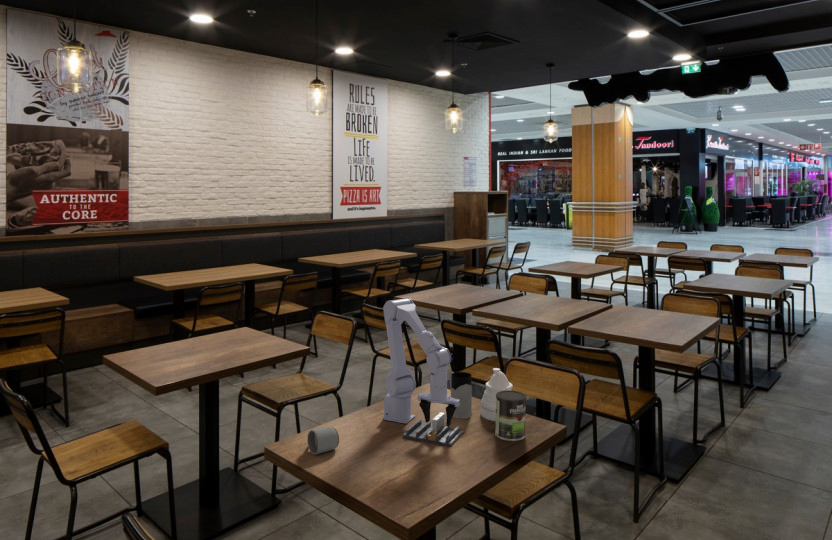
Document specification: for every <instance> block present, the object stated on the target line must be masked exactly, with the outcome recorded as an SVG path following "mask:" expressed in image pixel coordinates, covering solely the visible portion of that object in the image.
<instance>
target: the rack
mask: <svg viewBox="0 0 832 540" xmlns="http://www.w3.org/2000/svg"><path fill="white" fill-rule="evenodd" d="M463 434H464V430H463V429H461V427H460V425H457V426H456V427H455V428H453V427H451V425H450V426H449V427H447V425H446V424H445V425H444V428H443V429H442V430H441V431H440V432H439V433H438V434H437V435H436V437H435V436H433V435H432V420H430V421H429V422H428V423H426V422H423V420H422V418H419V419H418V420H416V421H415V422H414V423H413V424H411V425H410V426H409V427H408V428H407V429H406V430H405V432H404V433H403V434H402V438H405V439H410V440H413V441H419V442H425V443H429V444H434V445H440V446H445V447H452V446H453V444H455V442H456V441H457V440H458V439H459V438H460V437H461V436H462V435H463Z"/></svg>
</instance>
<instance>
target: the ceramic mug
mask: <svg viewBox="0 0 832 540" xmlns="http://www.w3.org/2000/svg"><path fill="white" fill-rule="evenodd" d="M339 435H340V434H339V432H338V430H337V429H336V428H335V427H333V426H325V427H320V428H315V429H311V430H309V431H308V433H307V436H306V437H307V438H306V439H307V446H308V449H309V451H310V453H311V454H312V455H315V456H316V455H319V454H322V453H327V452H329V451H333V450H335V449H336V448H338V446H339V444H340V436H339Z"/></svg>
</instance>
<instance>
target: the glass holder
mask: <svg viewBox="0 0 832 540" xmlns="http://www.w3.org/2000/svg"><path fill="white" fill-rule="evenodd" d="M472 376H473V375H472V374H471V373H469V372H466V371H456V372H454V371H452V372H449V385H450V386H449V387H450V397H451V398H454V399H458V400H460V405H459V406H458V407H457V408H456V410H455V412H454V414H453V417H452V418H456V419H467V418H470V417H472V416H473V412H472V407H473V406H472V403H473V402H472V400H473V398H472V397H473V396H472V395H473V390H472V389H473V386H472V379H473V378H472Z"/></svg>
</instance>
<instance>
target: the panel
mask: <svg viewBox="0 0 832 540" xmlns="http://www.w3.org/2000/svg"><path fill="white" fill-rule="evenodd" d="M445 414H446V412H440V411H439V413H438V414H437V415H435V416H434V417H433V418H432V420H431V425H432V435H433V436H435V437H436V435H437V434H438V433H439V432H440V431H441V430H442V429H443V428H444V427H445V419H446V418H445Z"/></svg>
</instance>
